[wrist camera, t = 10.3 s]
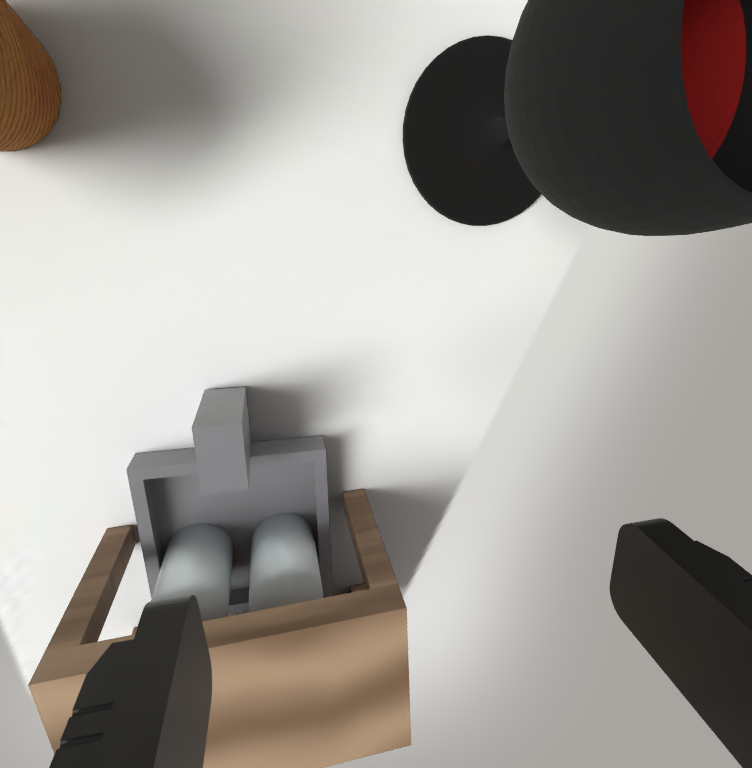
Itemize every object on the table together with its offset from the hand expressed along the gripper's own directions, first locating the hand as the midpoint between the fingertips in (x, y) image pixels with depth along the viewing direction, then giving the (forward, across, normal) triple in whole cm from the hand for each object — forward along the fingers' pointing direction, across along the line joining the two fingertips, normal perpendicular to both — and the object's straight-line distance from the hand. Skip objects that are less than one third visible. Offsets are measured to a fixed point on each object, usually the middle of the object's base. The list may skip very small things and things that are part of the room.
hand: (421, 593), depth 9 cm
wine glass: (+25, -11, -10) cm, 29 cm away
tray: (+24, +7, +12) cm, 28 cm away
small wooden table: (+23, +6, +18) cm, 30 cm away
